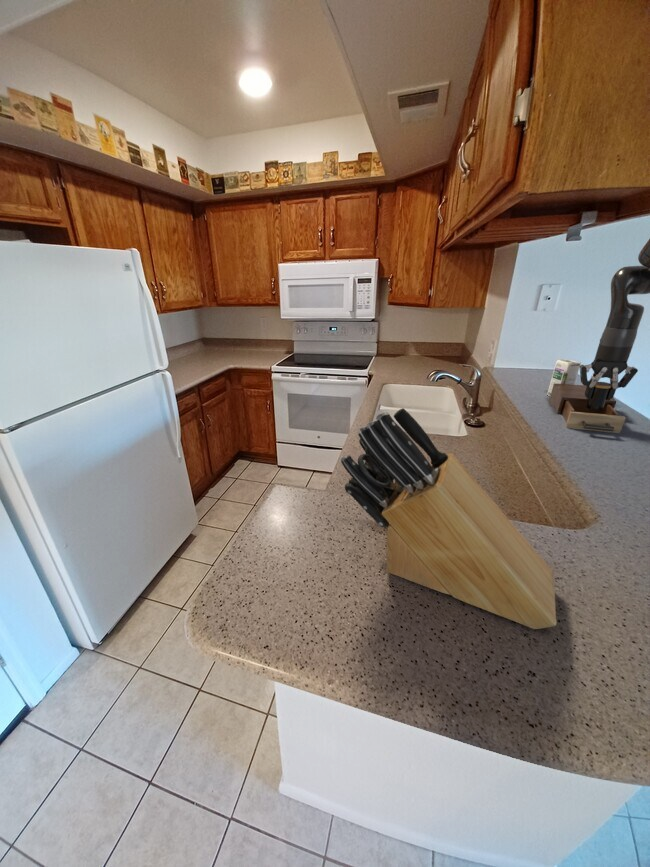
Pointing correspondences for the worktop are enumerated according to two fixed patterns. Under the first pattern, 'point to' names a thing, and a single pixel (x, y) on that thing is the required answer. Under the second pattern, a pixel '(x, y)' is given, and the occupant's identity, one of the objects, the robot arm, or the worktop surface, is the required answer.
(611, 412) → the drawer
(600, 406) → the spice tin
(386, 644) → the worktop surface
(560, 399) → the cabinet
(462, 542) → the knife block
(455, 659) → the worktop surface
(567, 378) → the syrup box
